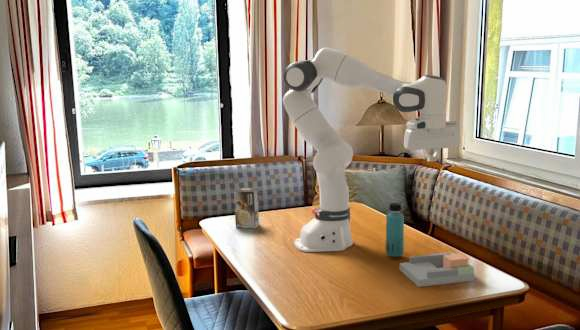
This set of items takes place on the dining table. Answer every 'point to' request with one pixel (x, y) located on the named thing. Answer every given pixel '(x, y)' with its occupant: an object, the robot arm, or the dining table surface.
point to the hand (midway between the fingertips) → (431, 161)
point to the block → (454, 261)
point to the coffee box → (246, 207)
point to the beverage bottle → (395, 231)
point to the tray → (434, 270)
